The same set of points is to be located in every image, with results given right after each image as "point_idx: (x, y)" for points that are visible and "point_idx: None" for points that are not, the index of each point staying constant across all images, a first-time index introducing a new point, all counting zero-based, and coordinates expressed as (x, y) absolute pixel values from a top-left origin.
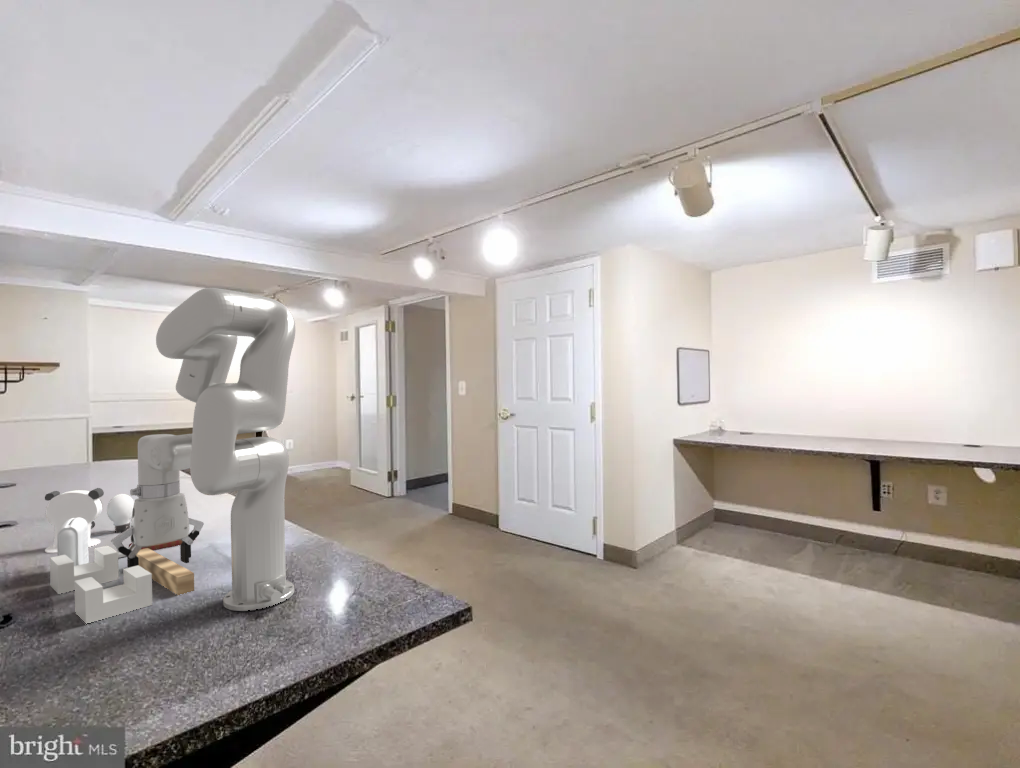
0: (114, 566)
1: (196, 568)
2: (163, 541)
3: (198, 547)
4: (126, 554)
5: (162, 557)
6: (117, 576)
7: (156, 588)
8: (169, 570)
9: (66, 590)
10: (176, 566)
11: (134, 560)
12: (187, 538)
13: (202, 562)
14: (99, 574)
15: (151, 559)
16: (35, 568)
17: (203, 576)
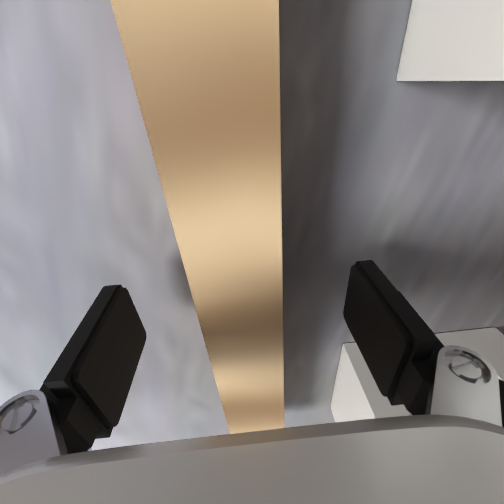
0: (377, 389)
1: (93, 280)
2: (257, 459)
3: (97, 444)
4: (499, 387)
5: (222, 370)
6: (350, 352)
7: (297, 122)
8: (253, 30)
9: (483, 334)
10: (178, 124)
11: (421, 330)
12: (10, 463)
13: (72, 331)
14: None
15: (268, 372)
16: None
17: (40, 116)
